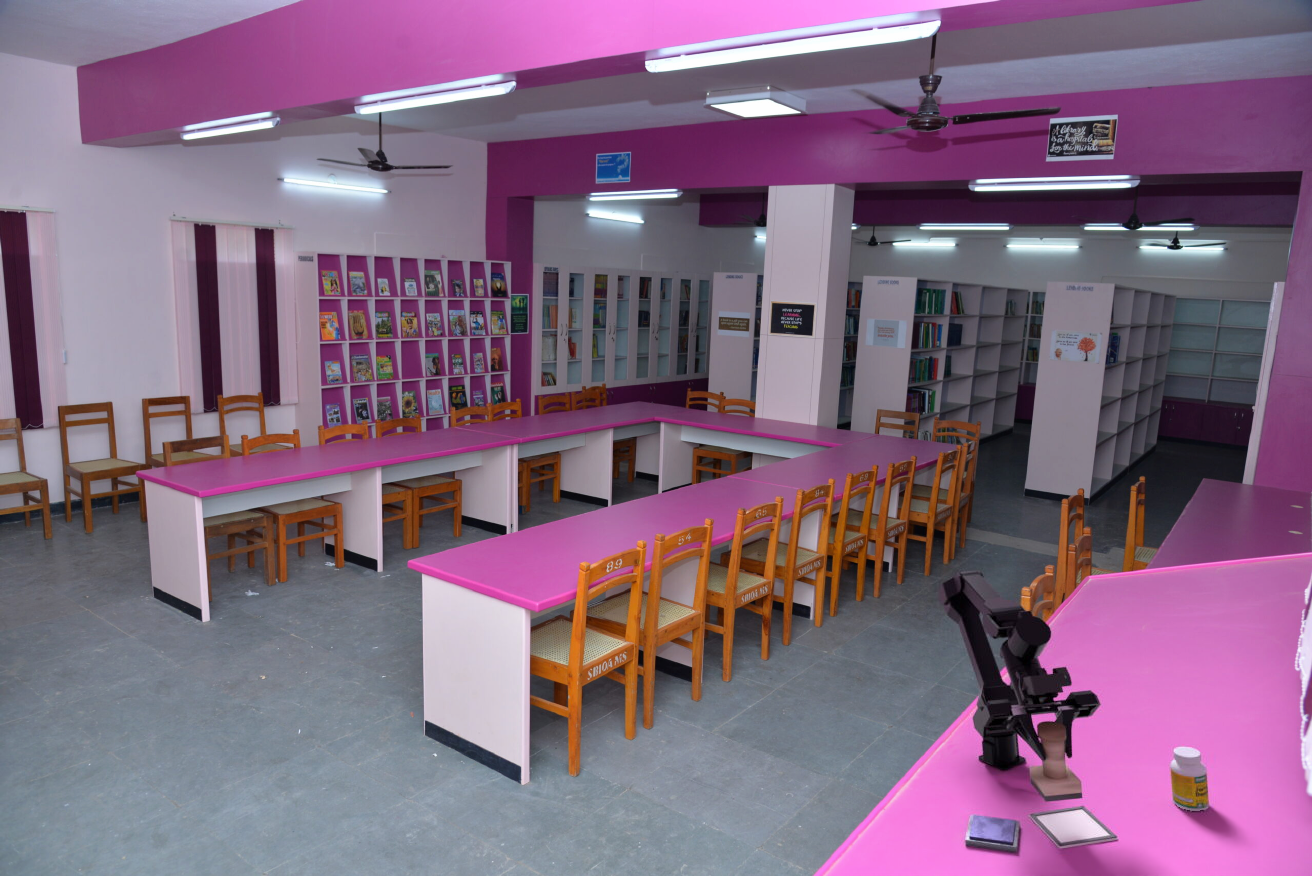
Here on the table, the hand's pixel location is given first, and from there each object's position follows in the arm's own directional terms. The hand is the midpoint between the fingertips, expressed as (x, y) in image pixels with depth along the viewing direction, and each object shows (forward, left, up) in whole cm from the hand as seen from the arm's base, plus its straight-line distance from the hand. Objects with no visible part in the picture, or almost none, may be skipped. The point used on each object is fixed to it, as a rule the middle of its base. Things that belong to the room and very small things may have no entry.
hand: (1057, 758), depth 139 cm
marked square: (-3, -1, -13) cm, 14 cm away
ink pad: (+9, -7, -13) cm, 18 cm away
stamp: (-1, -1, -6) cm, 7 cm away
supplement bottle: (-24, +6, -14) cm, 28 cm away
